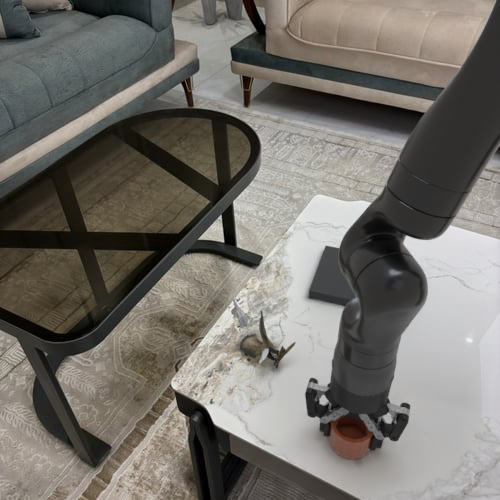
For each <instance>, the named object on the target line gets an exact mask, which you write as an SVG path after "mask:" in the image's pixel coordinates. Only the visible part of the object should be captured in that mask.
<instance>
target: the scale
mask: <svg viewBox="0 0 500 500" xmlns="http://www.w3.org/2000/svg"><path fill="white" fill-rule="evenodd" d="M339 248H340V247H335V246H330V245H325V246H324V248H323V251H322V254H321V257H320V260H319V262H318V265H317V268H316V270H315V273H314V276H313V278H312V281H311V284H310V286H309V289H308V298H310V299H314V300H319V301H324V302H328V303H332V304H336V305H341V306H344V307H345V306H346V305H347V303H348V302H349V301H351V300H352V299H353V298H355V297H356V296H355V294H354V293H353V291H352V289H351V287H350V286H349V284H348V282H347V280H346V279H345V277H344V275H343V274H342V272H341V270H340V267H339V263H338V253H339Z"/></svg>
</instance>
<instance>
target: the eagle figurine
mask: <svg viewBox="0 0 500 500" xmlns="http://www.w3.org/2000/svg"><path fill="white" fill-rule="evenodd" d="M258 330H259V334H260V339H261V340H260V339H259V338H258V336H257V334H256V333H254V334H252V333H251V334H247V335H245V336H244V337H243V338H242V339H241V342H240V344H239V349H240V350H241V351H242V352H244V353H245V354H246V355H247V356H248V357H249V358H251V359H256V358H257V357H260V360H258V364H263V362H264V361H265V360H266V359H269V360H271V361H272V363H273V364H272V365H273V366H275V369H278V368H279V364H280V362H281V361H282V360H283V358H284V357H285V356H286V355H288V353H289V352H290V351H291V350H292V349H293V348H294V346H295V345H296V342H295V341H293V343H291V344H290V345H288V347H286V348H285V347H284V345H281V347H280V348H279V349H276V345H275V344H274V342H272V341H271V340H270V339H269V337H268V334H267V330H266V326H265V320H264V315H263V309H260V318H259V324H258Z"/></svg>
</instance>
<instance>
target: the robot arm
mask: <svg viewBox="0 0 500 500" xmlns="http://www.w3.org/2000/svg"><path fill="white" fill-rule="evenodd" d="M499 148H500V0H495V1H494V3H493V6H492V8H491V10H490V13H489V15H488V17H487V20H486V22H485V24H484V26H483V28H482V30H481V32H480V34H479V36H478V37H477V40H476V42H475V43H474V45H473V47H472V48H471V50H470V52H469V53H468V54H467V56H466V58H465V60H464V61H463V63H462V65H461V66H460V67H459V69H458V70H457V72H455V75H453V77H452V78H451V79H450V81H449V83H447V85H446V86H445V88H444V89H443V90H442V91H441V92H440V93H439V95H438V96H437V97H436V99H435V100H434V101H433V102H432V103H431V105H430V106H429V107H428V108H427V110H426V111H425V112H424V114H423V115H422V116H421V118H420V119H419V120H418V121H417V124H416V125H415V126H414V128H413V129H412V132H410V134H409V136H408V138H407V140H406V142H405V144H404V145H403V147H402V150H401V151H400V153H399V155H398V157H397V160H396V161H395V164H394V165H393V167H392V169H391V172H390V173H389V176H388V178H387V180H386V182H385V184H384V186H383V188H382V191H381V192H380V193H379V195H377V197H376V198H375V199H374V200H372V202H371V203H370V204H369V205H368V206H367V207H366V208H365V210H364V211H363V212H362V213H361V214H360V216H359V217H358V218H357V219H356V220H355V221H354V222H353V223H352V225H350V227H349V228H348V230H347V231H346V232H345V234H344V236H343V237H342V239H341V241H340V245H339V247H338V248H339V253H338V263H339V267H340V270H341V272H342V274H343V275H344V277H345V279H346V280H347V282H348V284H349V286H350V287H351V289H352V291H353V293H354V294H355V296H356V297H355V298H353V299H352V300H351V301H349V302H348V303H347V305H346V306H345V305H344V307H343V309H342V312H341V315H340V319H339V325H338V334H337V342H336V344H335V347H334V351H333V356H332V359H331V373H330V381H329V383H328V384H327V385H325V384H319V380H318V379H317V378H315V377H310V378H309V380H308V382H307V386H306V389H305V392H304V396H305V405H306V415H307V416H308V417H309V418H312V419H314V418H316V417H317V418H318V419H319V431H320V432H321V433H323V434H322V436H323V437H326V438H328V434H329V426H330V421H331V420H333V421H335V420H337V419H338V418H340V417H341V416H344V417H347V418H353V419H356V420H358V421H361V422H364V423H365V425H366V426H367V428H368V430H369V431H372V432H373V434H374V436H373V440H372V444H371V448H370V450H369V451H373V452H376V449H378V450H381V448H382V446H383V443H384V440H385V439H387V438H388V439H389V440H390V441H391V442H398V441H399V440H400V438H401V436H402V434H403V433H404V431H405V429H406V427H407V426H408V424H409V419H410V411H411V404H410V403H408V402H401V403H400V405H398V404H394V403H391V400H390V399H389V395H390V392H391V387H392V384H393V382H394V379H395V372H396V368H397V361H398V360H397V359H398V358H397V357H398V351H399V347H400V343H401V339H402V335H403V334H404V332H406V330H407V328H408V327H409V326H410V324H411V323H412V322H413V320H414V319H415V318H416V317H417V315H418V314H419V313H420V311H421V310H422V309H423V308H424V306H425V304H426V302H427V299H428V294H429V284H428V278H427V275H426V273H425V271H424V269H423V268H422V266H421V265H420V264H419V262H418V261H417V260H416V258H415V257H414V255H412V253H411V252H410V250H409V249H408V248H407V247H406V246H405V244H404V243H405V240H406V237H409V238H411V239H415V240H420V241H431V240H436V239H438V238H439V237H442V235H444V234H445V233H446V232H447V231H448V229H449V228H450V226H451V225H452V223H453V222H454V220H455V219H456V217H457V215H458V214H459V212H460V210H461V209H462V208H463V206H464V204H465V203H466V200H468V197H469V196H470V194H471V192H472V191H473V189H474V188H475V186H476V184H477V182H478V181H479V179H480V178H481V176H482V174H483V172H484V171H485V169H486V168H487V166H488V164H489V162H490V161H491V159H492V158H493V157H494V155H495V154H496V152H497V150H498V149H499ZM322 396H324V397H325V399H326V400H327V402H325V403H324V404H322V403H321V402H320V399H321V398H322ZM387 414H390V415H391V416H390V418H391V419H392V420H391V422H389V423H388V422H387V421H386V419H385V417H384V416H386V415H387Z"/></svg>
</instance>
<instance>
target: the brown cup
mask: <svg viewBox="0 0 500 500" xmlns="http://www.w3.org/2000/svg"><path fill="white" fill-rule="evenodd" d="M373 436H374V434H373V432H372V431H369V430H368V428H367V426H366V425H365V423H364V422H361V421H358V420H356V419H353V418H347V417H344V416H341V417H340V418H338V419H337V420H335V421H333V420H331V421H330V426H329V434H328V437H327V438H328V442H329V445H330V447H331V448H332V449H333V451H334V452H335V453H336V454H338V456H340V457H342V458H345V459H349V460H352V459H353V460H355V459H360V458H363V457H365V456H366V455H367V454H368V453H369V451H371V450H370V448H371V444H372V440H373Z"/></svg>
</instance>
